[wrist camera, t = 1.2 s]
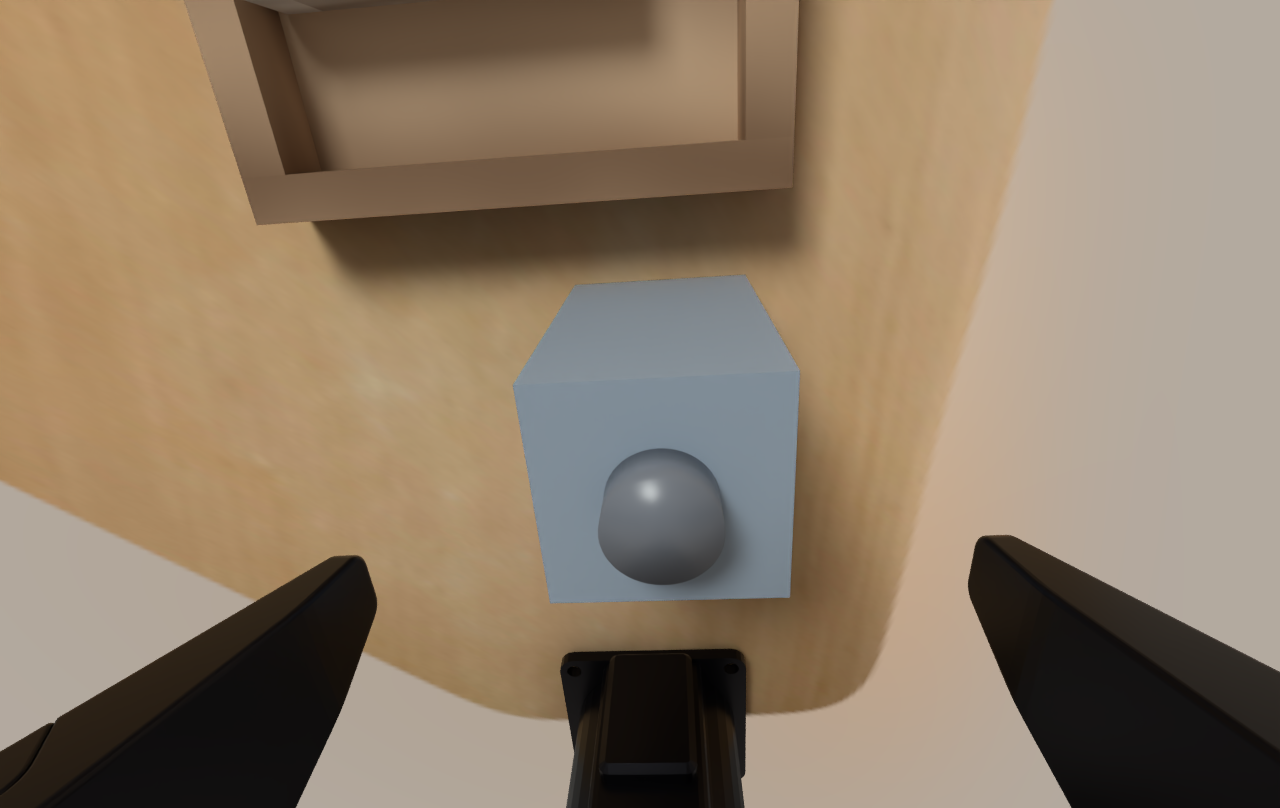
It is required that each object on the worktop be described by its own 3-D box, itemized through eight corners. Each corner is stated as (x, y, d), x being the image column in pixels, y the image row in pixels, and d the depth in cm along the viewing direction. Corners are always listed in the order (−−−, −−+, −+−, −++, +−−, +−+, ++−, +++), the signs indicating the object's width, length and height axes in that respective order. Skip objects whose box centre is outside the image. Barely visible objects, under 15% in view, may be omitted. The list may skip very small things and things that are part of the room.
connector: (744, 427, 17) (800, 639, 10) (592, 434, 18) (539, 644, 10) (744, 274, 15) (815, 396, 8) (574, 285, 16) (496, 411, 8)
